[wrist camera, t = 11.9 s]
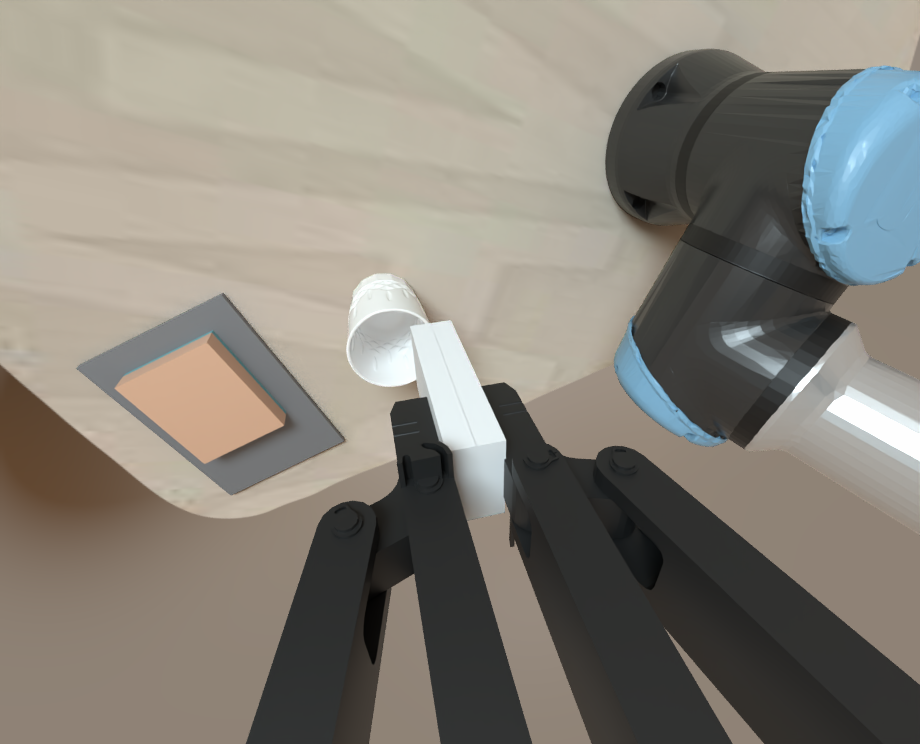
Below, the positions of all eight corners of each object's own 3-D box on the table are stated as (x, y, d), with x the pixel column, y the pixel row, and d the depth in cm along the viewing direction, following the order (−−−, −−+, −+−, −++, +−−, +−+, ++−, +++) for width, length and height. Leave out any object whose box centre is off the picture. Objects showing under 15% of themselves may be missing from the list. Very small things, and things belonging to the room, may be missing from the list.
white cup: (435, 306, 48) (454, 352, 40) (379, 348, 49) (387, 401, 41) (388, 251, 43) (399, 290, 35) (328, 299, 45) (326, 347, 37)
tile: (284, 425, 48) (206, 342, 41) (204, 464, 49) (114, 388, 42) (286, 411, 50) (212, 330, 43) (209, 448, 51) (124, 374, 44)
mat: (343, 437, 55) (344, 441, 54) (231, 491, 56) (230, 495, 55) (223, 292, 42) (221, 295, 42) (79, 365, 43) (76, 368, 42)
